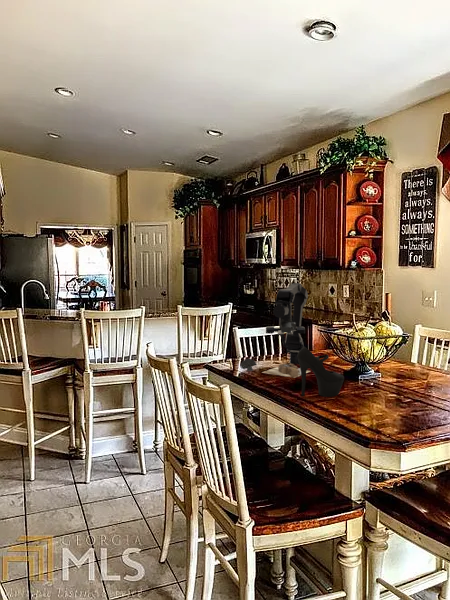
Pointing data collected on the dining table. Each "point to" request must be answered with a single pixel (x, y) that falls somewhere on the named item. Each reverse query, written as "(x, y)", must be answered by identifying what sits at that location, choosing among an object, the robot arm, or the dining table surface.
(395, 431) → the dining table surface
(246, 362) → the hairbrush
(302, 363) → the high-heeled shoe
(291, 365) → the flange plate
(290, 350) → the robot arm
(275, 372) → the birch board
